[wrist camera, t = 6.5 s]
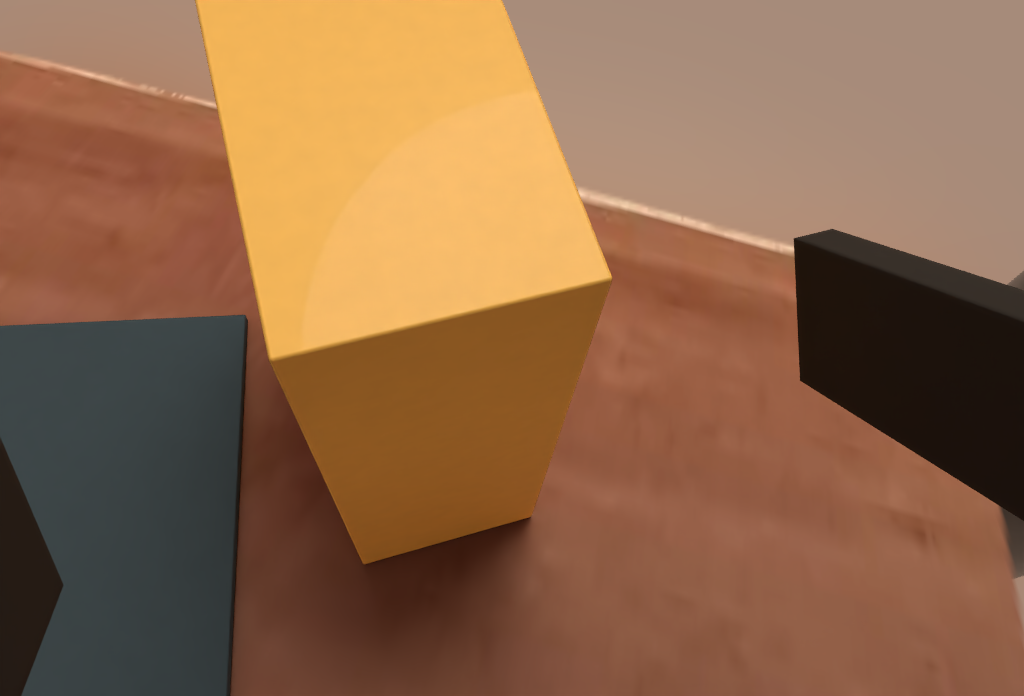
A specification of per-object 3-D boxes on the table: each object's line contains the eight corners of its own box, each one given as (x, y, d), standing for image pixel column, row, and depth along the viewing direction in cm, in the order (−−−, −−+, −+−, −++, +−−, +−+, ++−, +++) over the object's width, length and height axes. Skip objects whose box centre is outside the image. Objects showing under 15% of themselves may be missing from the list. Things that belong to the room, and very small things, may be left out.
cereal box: (451, 259, 29) (451, -130, 16) (532, 517, 25) (614, 279, 13) (300, 293, 28) (176, -90, 15) (363, 565, 24) (268, 361, 12)
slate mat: (248, 320, 27) (245, 314, 27) (224, 822, 21) (220, 824, 21) (-158, 338, 26) (-166, 332, 26) (-300, 874, 20) (-314, 876, 20)
